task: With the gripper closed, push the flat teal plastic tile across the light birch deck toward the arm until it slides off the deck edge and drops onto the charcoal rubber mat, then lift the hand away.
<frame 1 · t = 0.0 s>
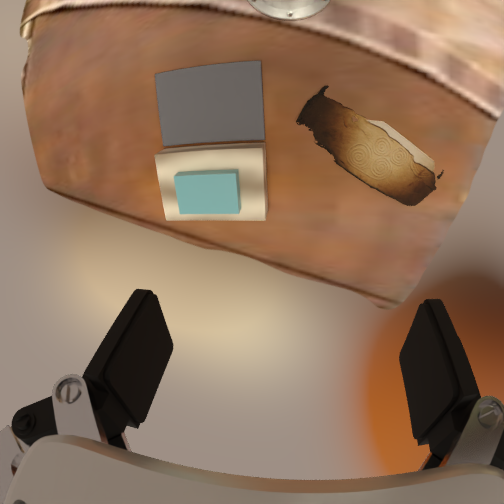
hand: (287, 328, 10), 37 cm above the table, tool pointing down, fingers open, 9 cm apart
tile: (209, 189, 43), point 4 cm above the table, touching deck
parchment: (374, 151, 41), on the table
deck: (216, 178, 46), on the table
mat: (208, 103, 40), on the table
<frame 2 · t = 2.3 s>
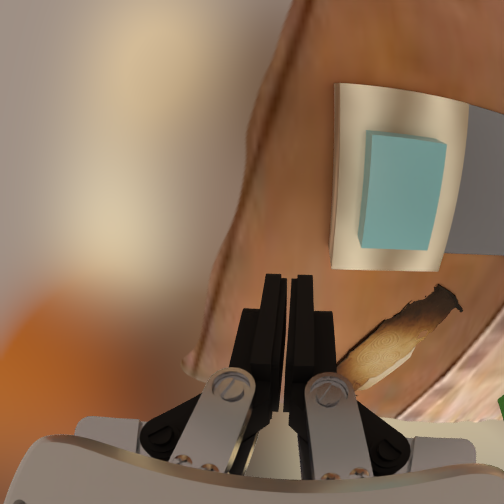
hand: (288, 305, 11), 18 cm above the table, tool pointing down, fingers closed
tile: (397, 188, 21), point 4 cm above the table, touching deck
parchment: (385, 347, 37), on the table
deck: (390, 173, 25), on the table
mat: (488, 186, 23), on the table
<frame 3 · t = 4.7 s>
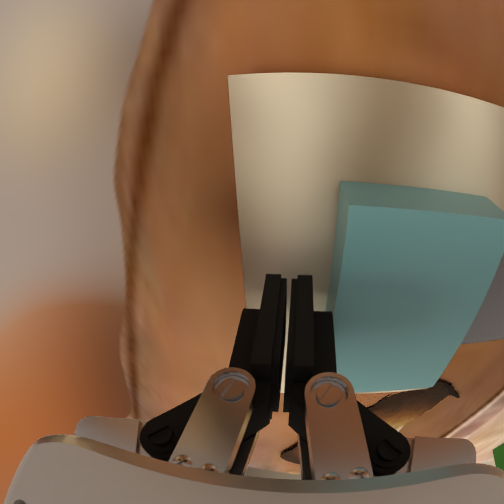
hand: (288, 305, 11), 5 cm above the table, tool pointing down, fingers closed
tile: (397, 291, 11), point 4 cm above the table, touching gripper
parchment: (354, 431, 27), on the table
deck: (363, 241, 15), on the table
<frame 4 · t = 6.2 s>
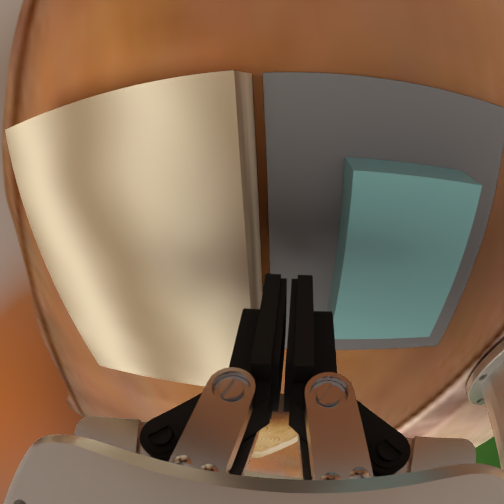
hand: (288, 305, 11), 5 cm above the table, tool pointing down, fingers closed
hardback book: (496, 438, 31), on the table
tile: (404, 272, 12), point 2 cm above the table, tilted 180°, touching mat
parchment: (258, 429, 29), on the table
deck: (160, 235, 16), on the table
mat: (385, 241, 14), on the table
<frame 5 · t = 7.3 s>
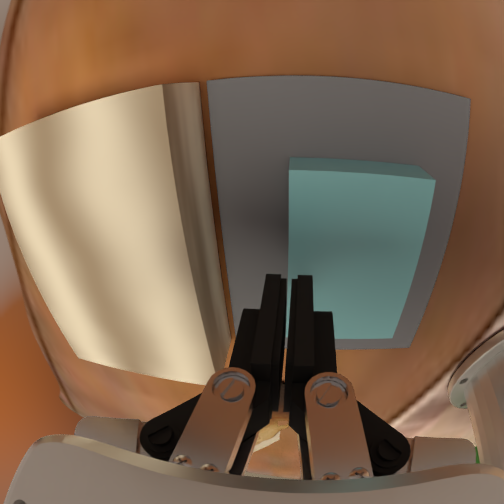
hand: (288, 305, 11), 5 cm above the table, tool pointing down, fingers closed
tile: (354, 271, 13), point 2 cm above the table, tilted 180°, touching mat
parchment: (239, 426, 29), on the table
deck: (127, 236, 17), on the table
mat: (341, 240, 15), on the table
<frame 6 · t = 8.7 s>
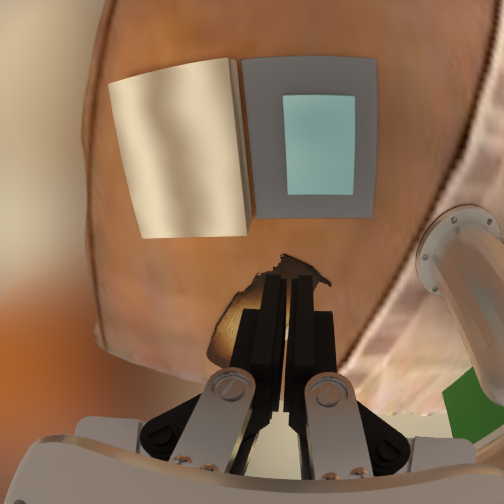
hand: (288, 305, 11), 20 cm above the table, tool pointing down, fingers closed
hardback book: (480, 368, 42), on the table
tile: (320, 146, 24), point 2 cm above the table, tilted 180°, touching mat
parchment: (256, 324, 41), on the table
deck: (189, 146, 28), on the table
mat: (314, 139, 26), on the table
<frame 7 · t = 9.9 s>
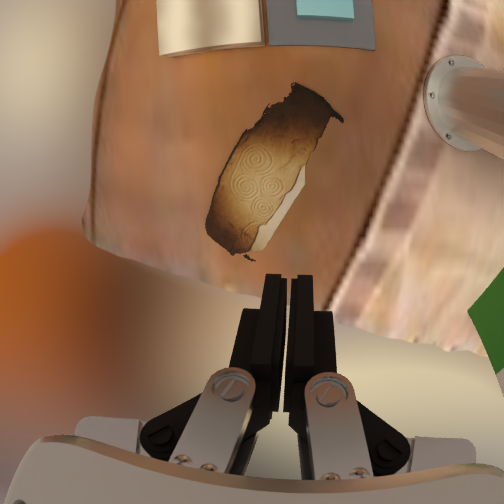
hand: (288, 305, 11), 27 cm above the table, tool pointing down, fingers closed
parchment: (263, 176, 37), on the table
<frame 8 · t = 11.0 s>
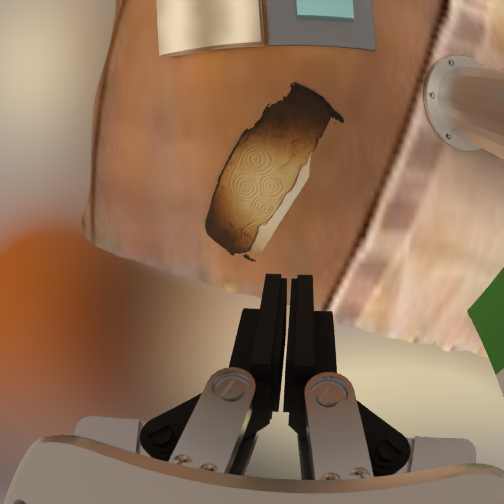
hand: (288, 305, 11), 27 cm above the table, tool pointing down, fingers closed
parchment: (263, 176, 37), on the table
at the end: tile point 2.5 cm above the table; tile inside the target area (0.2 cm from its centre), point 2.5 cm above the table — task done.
